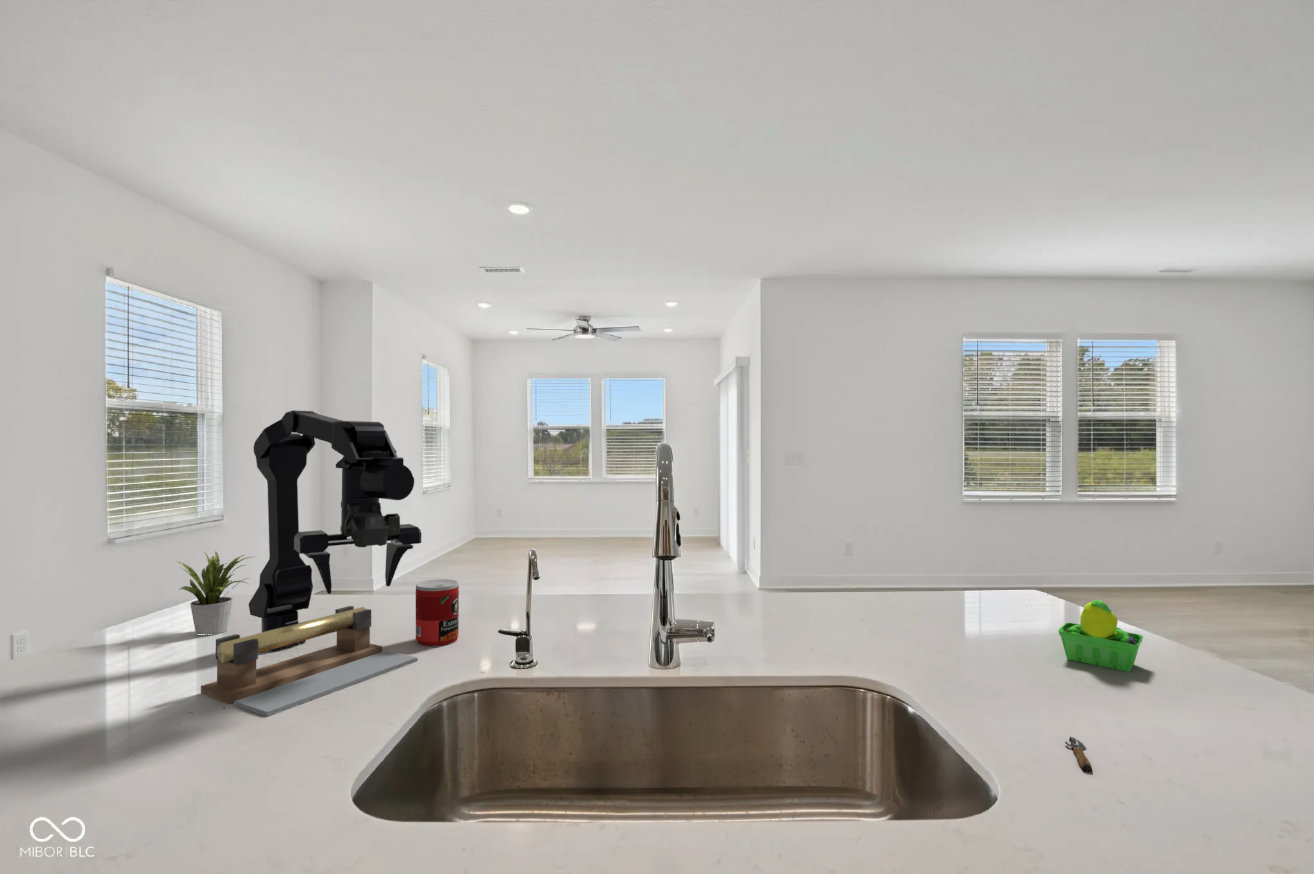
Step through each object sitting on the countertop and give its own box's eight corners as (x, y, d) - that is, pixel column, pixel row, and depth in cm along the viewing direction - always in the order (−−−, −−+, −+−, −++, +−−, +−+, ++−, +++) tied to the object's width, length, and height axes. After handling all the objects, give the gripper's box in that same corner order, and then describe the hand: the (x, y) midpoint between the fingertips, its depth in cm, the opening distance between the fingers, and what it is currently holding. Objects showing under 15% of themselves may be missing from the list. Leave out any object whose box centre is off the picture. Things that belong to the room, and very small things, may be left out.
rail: (228, 664, 97) (228, 644, 97) (217, 661, 98) (217, 641, 98) (368, 624, 118) (368, 608, 118) (357, 622, 119) (357, 606, 119)
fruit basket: (1144, 664, 111) (1143, 598, 111) (1136, 678, 105) (1136, 607, 105) (1066, 649, 119) (1066, 587, 119) (1055, 661, 112) (1055, 596, 112)
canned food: (446, 648, 120) (446, 588, 120) (406, 645, 122) (407, 586, 122) (466, 636, 128) (466, 579, 128) (429, 633, 129) (429, 578, 129)
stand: (230, 703, 95) (230, 648, 95) (200, 693, 98) (201, 640, 98) (382, 652, 117) (382, 608, 117) (353, 646, 121) (353, 603, 121)
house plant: (272, 629, 132) (272, 549, 133) (195, 647, 121) (195, 559, 121) (237, 619, 140) (237, 543, 140) (161, 635, 128) (162, 552, 128)
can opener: (1092, 775, 75) (1093, 765, 75) (1068, 770, 76) (1069, 760, 76) (1084, 744, 82) (1085, 735, 82) (1063, 739, 84) (1063, 730, 84)
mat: (234, 705, 94) (234, 701, 94) (386, 653, 117) (386, 650, 117) (267, 716, 90) (267, 712, 90) (417, 660, 113) (417, 657, 113)
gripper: (307, 503, 97) (306, 608, 97) (433, 497, 108) (431, 591, 108) (294, 497, 105) (292, 593, 105) (411, 492, 117) (410, 579, 117)
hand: (359, 589), depth 109 cm, fingers open, 9 cm apart
